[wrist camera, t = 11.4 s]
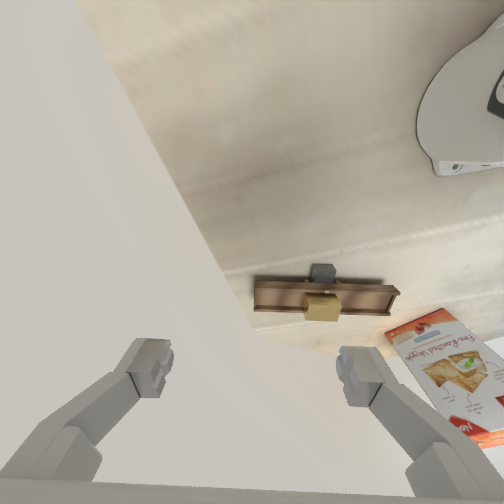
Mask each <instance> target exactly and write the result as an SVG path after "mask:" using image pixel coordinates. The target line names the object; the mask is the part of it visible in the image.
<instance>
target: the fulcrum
mask: <svg viewBox="0 0 504 504" xmlns="http://www.w3.org/2000/svg"><path fill="white" fill-rule="evenodd" d="M335 274H336V269H335V268H334V266H333V265H332V264H313V265H312V270H311V276H310V281H309V282H310V283H333V282H334V278H335Z"/></svg>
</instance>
